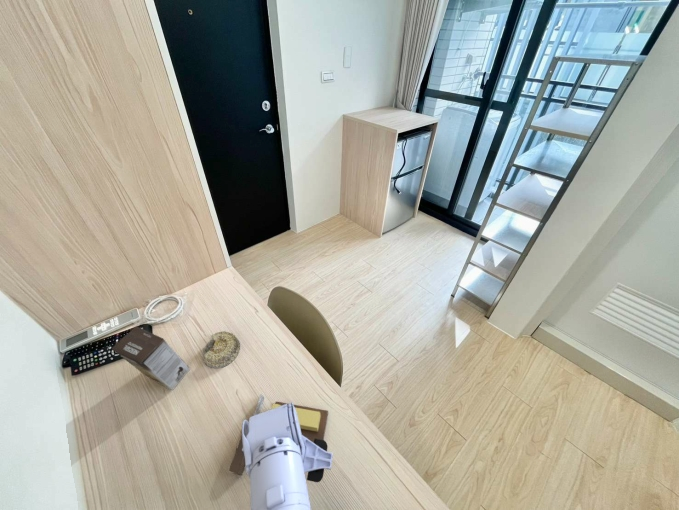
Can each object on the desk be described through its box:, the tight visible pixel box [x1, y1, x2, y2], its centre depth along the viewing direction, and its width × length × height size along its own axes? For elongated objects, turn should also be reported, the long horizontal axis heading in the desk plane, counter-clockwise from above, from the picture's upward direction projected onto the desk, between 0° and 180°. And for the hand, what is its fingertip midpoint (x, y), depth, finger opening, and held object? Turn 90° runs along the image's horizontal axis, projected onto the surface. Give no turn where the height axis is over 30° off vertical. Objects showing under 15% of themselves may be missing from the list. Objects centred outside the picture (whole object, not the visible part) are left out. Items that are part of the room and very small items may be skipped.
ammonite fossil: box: [202, 330, 241, 369], centre depth 74 cm, size 10×10×5 cm
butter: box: [295, 408, 321, 432], centre depth 61 cm, size 3×6×3 cm, turn 81°
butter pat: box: [270, 403, 281, 410], centre depth 62 cm, size 3×2×3 cm, turn 171°
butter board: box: [274, 401, 329, 443], centre depth 62 cm, size 9×13×1 cm
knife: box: [228, 394, 265, 476], centre depth 60 cm, size 15×2×3 cm, turn 171°
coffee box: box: [111, 326, 191, 391], centre depth 66 cm, size 9×6×16 cm
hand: (293, 459), depth 50 cm, fingers open, 7 cm apart
